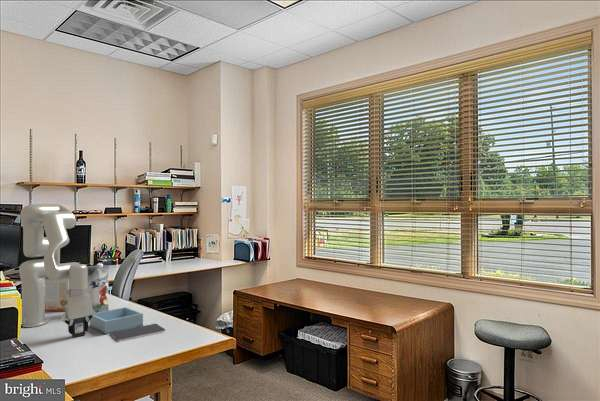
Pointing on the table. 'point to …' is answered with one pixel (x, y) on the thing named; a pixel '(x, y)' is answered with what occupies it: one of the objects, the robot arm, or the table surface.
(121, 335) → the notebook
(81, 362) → the table surface
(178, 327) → the table surface
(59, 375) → the table surface
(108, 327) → the bin
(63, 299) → the cracker box
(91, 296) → the juice carton
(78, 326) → the ink cartridge
